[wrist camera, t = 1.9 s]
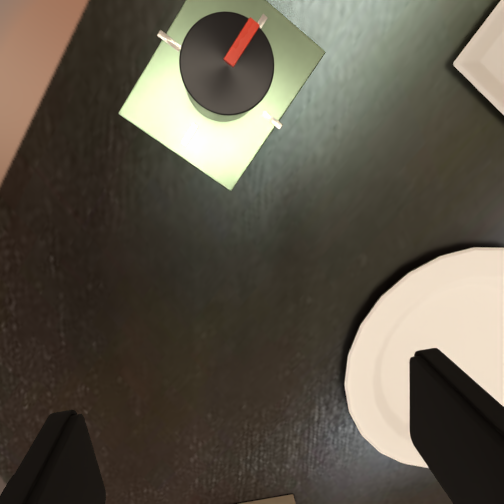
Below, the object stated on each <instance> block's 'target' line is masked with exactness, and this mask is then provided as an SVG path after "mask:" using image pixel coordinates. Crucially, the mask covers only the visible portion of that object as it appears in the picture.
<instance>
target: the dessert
mask: <svg viewBox="0 0 504 504" xmlns="http://www.w3.org/2000/svg"><path fill="white" fill-rule="evenodd" d="M453 65H454V67H455V68H456V69H457V70H458V71H459V72H460V73H462V74H463V75H464V76H465V77H466V78H467V79H468V80H469V81H470V82H471V83H472V84H473V85H474V86H475V87H476V88H477V89H478V90H479V91H480V92H481V93H482V94H483V95H484V96H485V97H486V98H487V99H488V100H489V101H490V102H491V103H492V104H493V105H494V106H495V107H496V108H497V109H498V110H499V111H500V112H501V113H502V114H503V115H504V0H501V1H500V2H499V3H498V5H497V6H496V7H495V9H494V10H493V11H492V13H491V14H490V15H489V16H488V18H487V19H486V20H485V22H484V23H483V24H482V26H481V27H480V28H479V30H478V31H477V32H476V34H475V35H474V36H473V37H472V39H471V40H470V41H469V43H468V44H467V45H466V47H465V48H464V49H463V51H462V52H461V53H460V55H459V56H458V57H457V59H456V60H455V61H454V63H453Z"/></svg>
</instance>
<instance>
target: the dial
mask: <svg viewBox="0 0 504 504" xmlns="http://www.w3.org/2000/svg"><path fill="white" fill-rule="evenodd" d="M179 67H180V74H181V77H182V81H183V84H184V86H185V89H186V92H187V95H188V97H189V99H190V101H191V103H192V104H193V106H194V107H195V108H196V109H197V110H198V111H199V112H200V113H201V114H202V115H204V116H205V117H207V118H209V119H211V120H215V121H220V122H228V121H233V120H236V119H239V118H240V117H242V116H244V115H245V114H246V113H248V112H249V111H250V110H251V109H253V108H254V107H255V106H257V105H258V104H259V103H260V102H261V101H262V100H263V98H264V97H265V96H266V94H267V92H268V90H269V88H270V86H271V83H272V80H273V75H274V56H273V51H272V48H271V45H270V43H269V40H268V38H267V37H266V35H265V33H264V32H263V31H262V30H261V28H260V25H259V24H258V23H257V22H256V21H254V20H253V19H252V18H251V17H250V18H247V17H245V16H244V15H241V14H238V13H234V12H227V11H223V12H216V13H212V14H209V15H207V16H205V17H203V18H201V19H200V20H199V21H197V22H196V23H195V24H194V25H193V26H192V27H191V28H190V30H189V31H188V33H187V34H186V36H185V38H184V40H183V43H182V46H181V50H180V56H179Z"/></svg>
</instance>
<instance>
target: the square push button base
mask: <svg viewBox="0 0 504 504" xmlns="http://www.w3.org/2000/svg"><path fill="white" fill-rule="evenodd" d="M239 504H295V500H294V496H293V494H291V495H285V496H279V497H273V498H268V499H262V500H256V501H250V502H245V503H239Z"/></svg>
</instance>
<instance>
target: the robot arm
mask: <svg viewBox="0 0 504 504" xmlns="http://www.w3.org/2000/svg"><path fill="white" fill-rule="evenodd" d="M409 382H410V437H411V440H412V443H413V445H414V447H415V448H416V450H417V451H418V453H419V454H420V455H421V457H422V458H423V460H424V461H425V463H426V464H427V466H428V467H429V469H430V470H431V472H432V473H433V474H434V476H435V477H436V479H437V480H438V482H439V483H440V485H441V486H442V488H443V489H444V491H445V492H446V493H447V495H448V496H449V498H450V499H451V501H452V502H453V504H504V407H503V406H502V405H501V404H500V403H499V402H498V401H497V400H495V399H494V398H493V397H492V396H491V395H490V394H489V393H488V392H486V391H485V390H484V389H483V388H482V387H481V386H480V385H479V384H477V383H476V382H475V381H474V380H473V379H472V378H471V377H470V376H468V375H467V374H466V373H465V372H464V371H463V370H462V369H460V368H459V367H458V366H457V365H456V364H455V363H454V362H453V361H451V360H450V359H449V358H448V357H447V356H446V355H445V354H444V353H442V352H441V351H440V350H439V349H437V348H431V349H425V350H419V351H416V352H415V354H414V357H411V358H410V362H409ZM105 500H106V493H105V487H104V484H103V481H102V477H101V474H100V470H99V467H98V463H97V460H96V457H95V453H94V450H93V446H92V443H91V440H90V436H89V433H88V429H87V426H86V423H85V419H84V417H83V415H82V414H78V415H77V413H76V411H75V410H69V411H63V412H57V413H52V414H50V415H49V417H48V418H47V420H46V422H45V423H44V425H43V427H42V429H41V430H40V432H39V434H38V435H37V437H36V439H35V440H34V442H33V444H32V446H31V447H30V449H29V451H28V452H27V454H26V456H25V457H24V459H23V461H22V463H21V464H20V466H19V468H18V469H17V471H16V473H15V475H13V476H12V478H11V479H10V480H9V482H8V483H7V485H6V487H5V488H4V490H3V492H2V494H1V496H0V504H105Z"/></svg>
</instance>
